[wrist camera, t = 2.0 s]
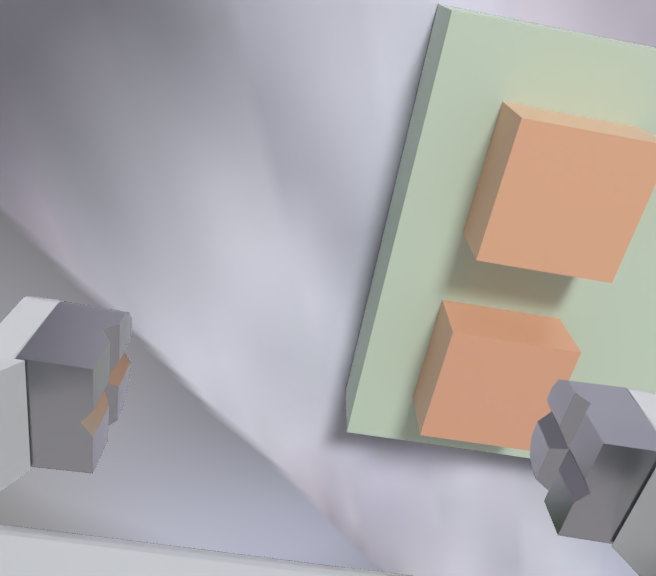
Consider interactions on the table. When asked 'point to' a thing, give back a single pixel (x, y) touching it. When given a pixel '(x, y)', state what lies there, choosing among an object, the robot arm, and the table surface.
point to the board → (455, 201)
